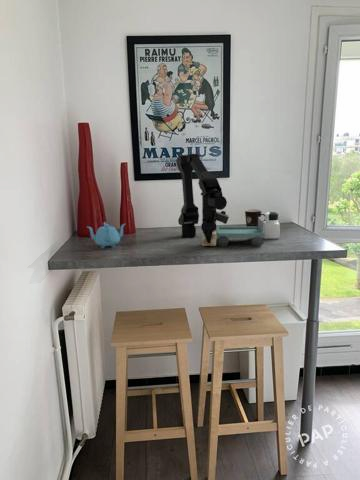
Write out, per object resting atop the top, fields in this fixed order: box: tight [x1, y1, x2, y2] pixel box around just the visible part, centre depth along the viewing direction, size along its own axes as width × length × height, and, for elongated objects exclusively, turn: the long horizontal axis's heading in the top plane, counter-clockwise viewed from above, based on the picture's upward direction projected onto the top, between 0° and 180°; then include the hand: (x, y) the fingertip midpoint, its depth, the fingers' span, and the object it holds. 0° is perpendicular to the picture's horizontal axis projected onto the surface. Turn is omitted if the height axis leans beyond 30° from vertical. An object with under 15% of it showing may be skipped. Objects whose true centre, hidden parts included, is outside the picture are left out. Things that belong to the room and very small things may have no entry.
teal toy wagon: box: [216, 216, 264, 248], centre depth 163 cm, size 20×14×11 cm
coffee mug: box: [244, 208, 265, 227], centre depth 189 cm, size 12×9×10 cm
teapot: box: [87, 221, 126, 249], centre depth 163 cm, size 13×13×10 cm
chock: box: [201, 231, 217, 247], centre depth 159 cm, size 6×5×5 cm
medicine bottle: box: [263, 211, 281, 240], centre depth 172 cm, size 7×7×12 cm
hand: (209, 241), depth 159 cm, fingers closed on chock, 5 cm apart
